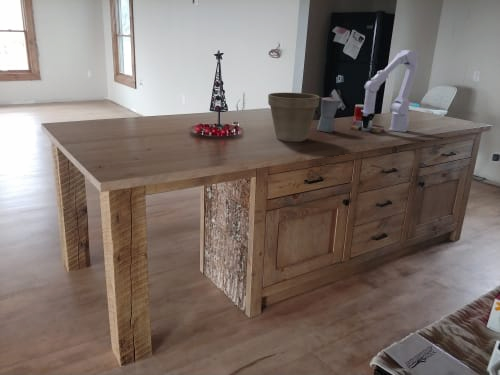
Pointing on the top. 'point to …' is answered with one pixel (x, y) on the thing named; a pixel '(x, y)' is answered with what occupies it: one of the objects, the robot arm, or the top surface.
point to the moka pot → (327, 113)
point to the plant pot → (292, 114)
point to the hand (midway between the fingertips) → (366, 127)
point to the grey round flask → (360, 123)
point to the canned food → (358, 113)
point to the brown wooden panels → (374, 129)
